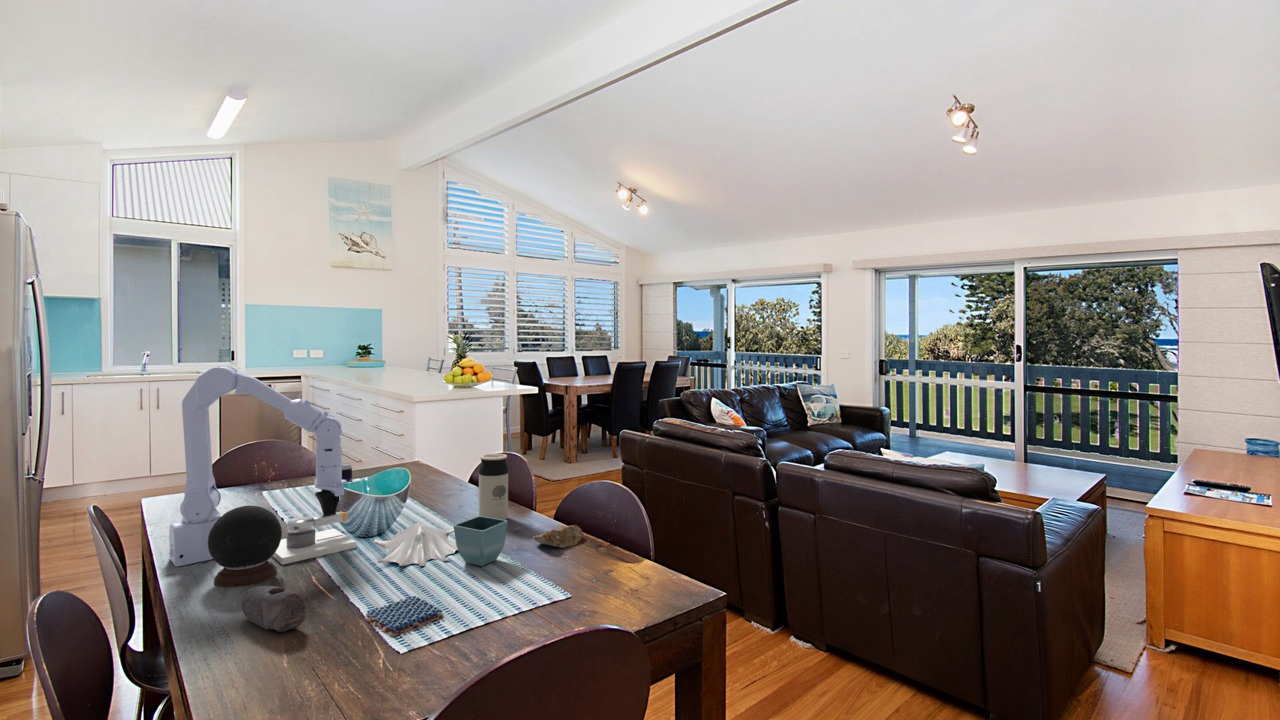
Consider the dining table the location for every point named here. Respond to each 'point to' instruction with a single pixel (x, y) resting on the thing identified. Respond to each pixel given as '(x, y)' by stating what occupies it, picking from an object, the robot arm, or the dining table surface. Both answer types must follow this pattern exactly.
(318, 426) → the robot arm
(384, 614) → the woven mat
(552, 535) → the decorative stone
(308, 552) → the board
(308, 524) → the lever with orange knob
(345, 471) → the beverage can
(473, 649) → the dining table surface
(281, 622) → the perforated stone tool
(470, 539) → the flower pot
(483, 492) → the travel mug
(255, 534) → the black egg on stand
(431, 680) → the dining table surface
